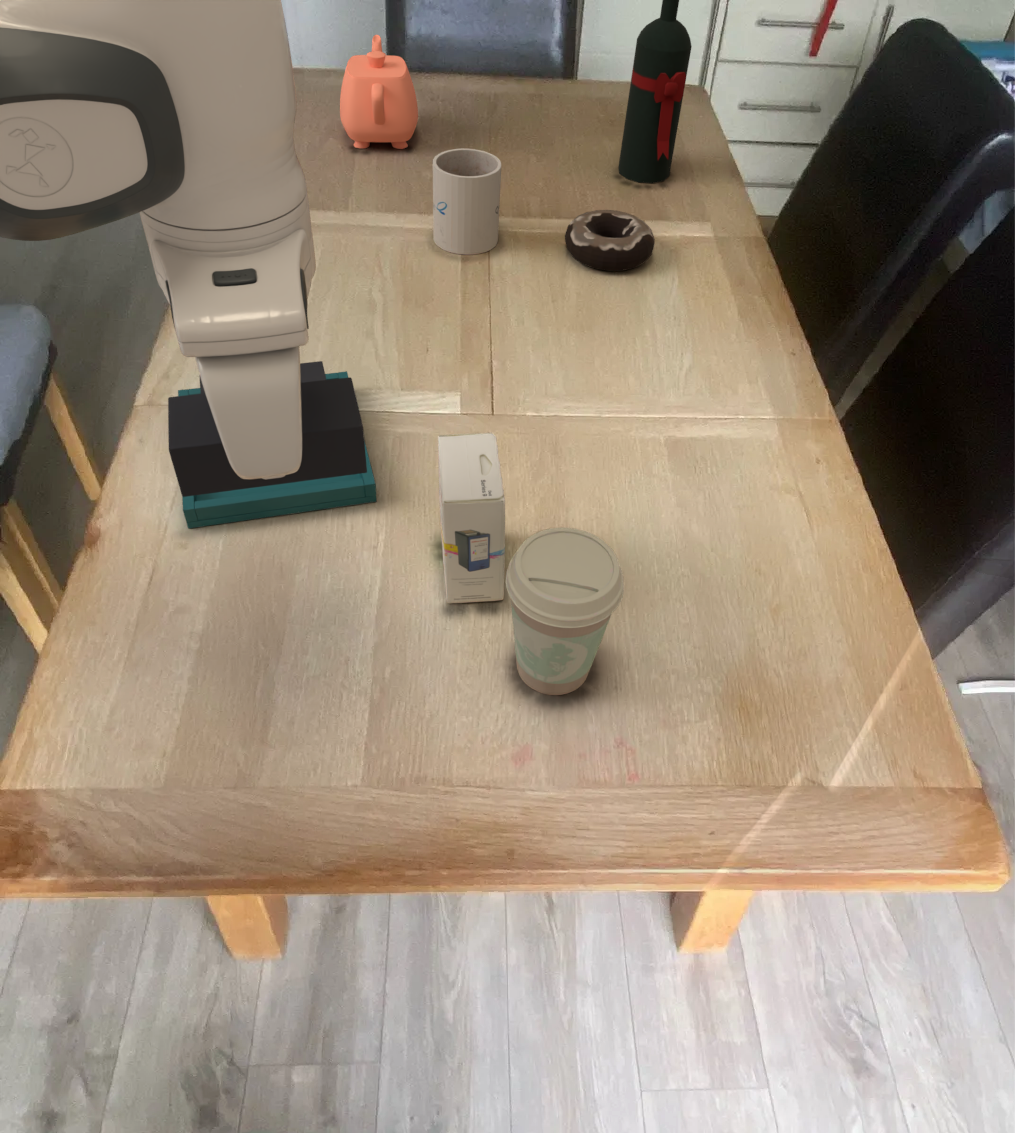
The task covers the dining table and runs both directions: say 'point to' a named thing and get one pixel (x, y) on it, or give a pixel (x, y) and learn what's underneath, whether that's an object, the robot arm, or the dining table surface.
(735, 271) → the dining table surface
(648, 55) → the wine bottle
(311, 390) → the loose pad
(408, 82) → the teapot
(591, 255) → the donut
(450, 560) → the ink box
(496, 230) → the mug
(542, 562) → the coffee cup
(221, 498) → the teal tray
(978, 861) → the dining table surface
